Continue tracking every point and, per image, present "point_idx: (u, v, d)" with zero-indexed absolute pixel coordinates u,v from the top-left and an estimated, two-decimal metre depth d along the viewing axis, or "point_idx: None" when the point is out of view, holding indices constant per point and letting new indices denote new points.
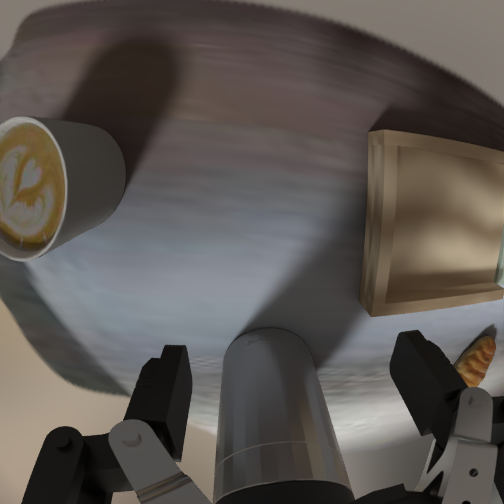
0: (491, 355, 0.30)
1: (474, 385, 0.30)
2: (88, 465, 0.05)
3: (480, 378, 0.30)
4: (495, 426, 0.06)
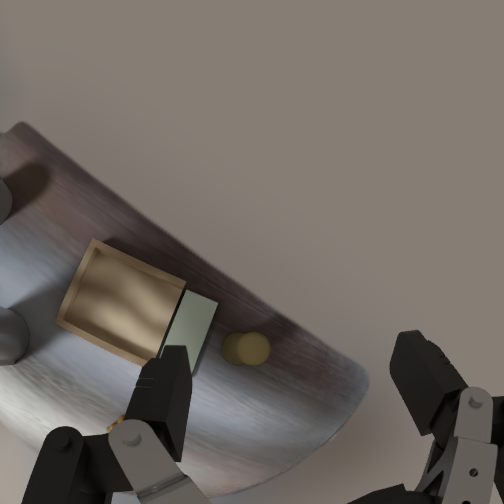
0: None
1: None
2: (88, 465, 0.05)
3: None
4: (495, 426, 0.06)
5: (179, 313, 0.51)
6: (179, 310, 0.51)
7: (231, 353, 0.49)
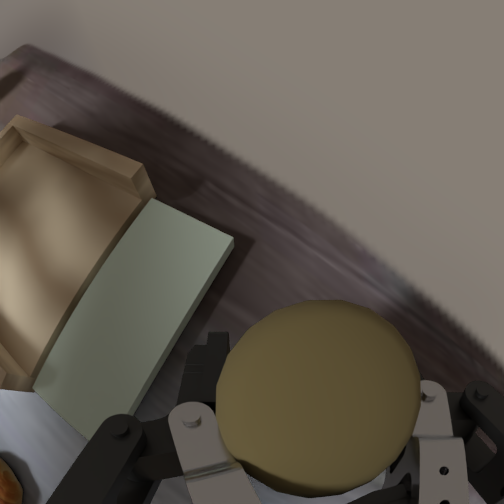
0: None
1: None
2: (146, 451, 0.06)
3: None
4: (451, 423, 0.06)
5: (115, 257, 0.17)
6: (118, 248, 0.17)
7: None
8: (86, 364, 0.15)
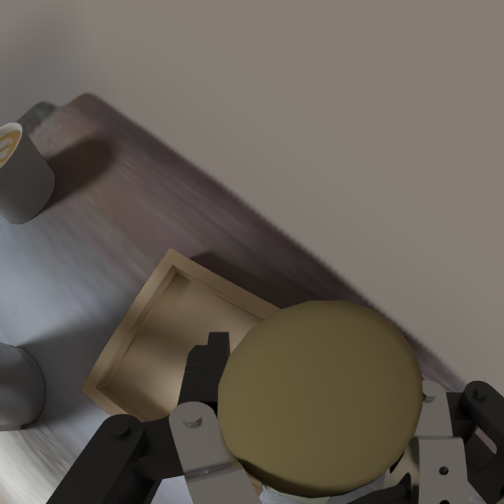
0: None
1: None
2: (147, 451, 0.06)
3: None
4: (450, 423, 0.06)
5: None
6: None
7: None
8: None
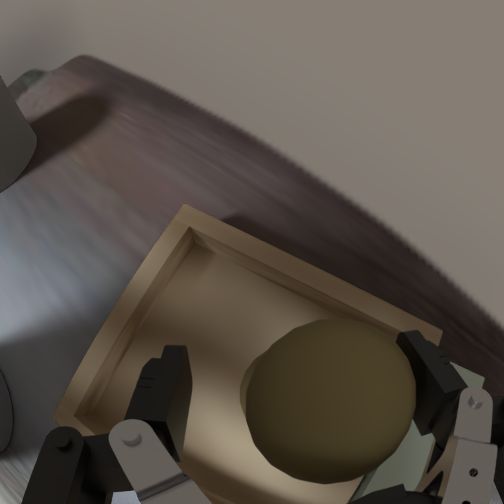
0: None
1: None
2: (88, 465, 0.05)
3: None
4: (495, 426, 0.06)
5: None
6: None
7: None
8: None
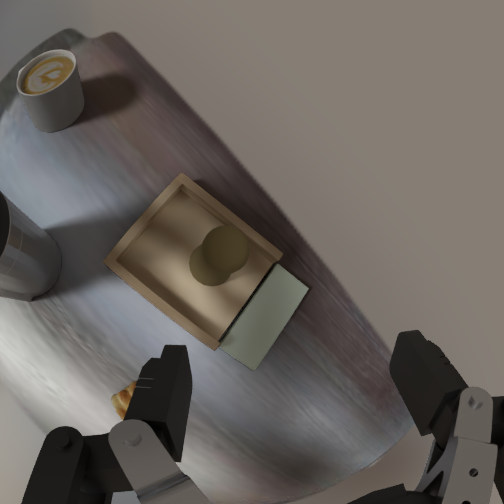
0: None
1: None
2: (88, 465, 0.05)
3: None
4: (495, 426, 0.06)
5: (263, 290, 0.43)
6: (264, 286, 0.43)
7: (197, 257, 0.37)
8: (250, 334, 0.41)
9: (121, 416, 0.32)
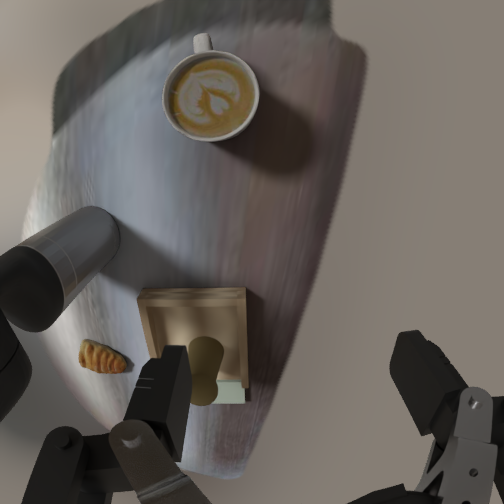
0: (114, 370, 0.50)
1: (90, 365, 0.48)
2: (88, 465, 0.05)
3: (96, 368, 0.48)
4: (495, 426, 0.06)
5: (219, 384, 0.52)
6: (222, 383, 0.52)
7: (192, 358, 0.44)
8: None
9: (79, 357, 0.48)
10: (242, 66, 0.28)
